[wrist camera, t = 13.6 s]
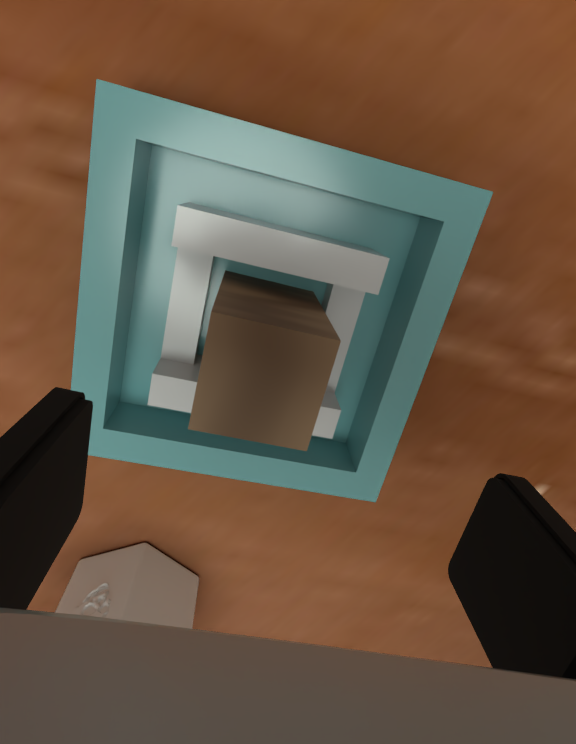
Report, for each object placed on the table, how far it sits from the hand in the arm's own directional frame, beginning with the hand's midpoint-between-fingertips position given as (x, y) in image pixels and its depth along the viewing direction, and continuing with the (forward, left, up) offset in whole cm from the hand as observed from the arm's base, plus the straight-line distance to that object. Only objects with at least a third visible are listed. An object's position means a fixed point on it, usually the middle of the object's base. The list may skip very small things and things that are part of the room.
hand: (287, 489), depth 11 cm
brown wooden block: (0, 0, -14) cm, 14 cm away
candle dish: (0, 0, -15) cm, 15 cm away
